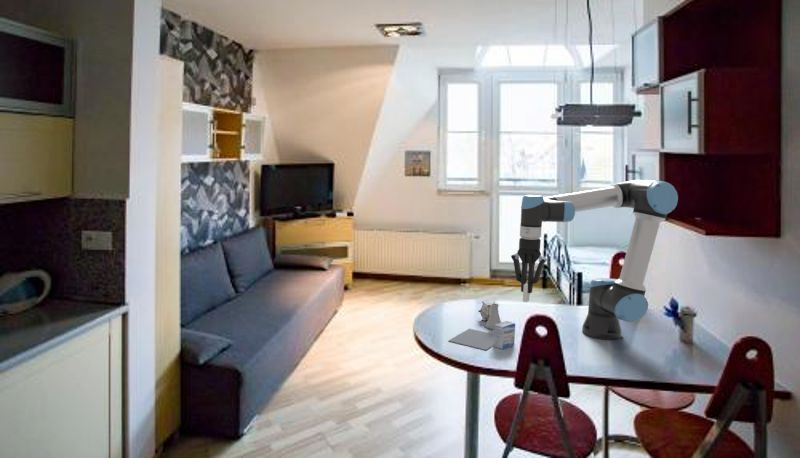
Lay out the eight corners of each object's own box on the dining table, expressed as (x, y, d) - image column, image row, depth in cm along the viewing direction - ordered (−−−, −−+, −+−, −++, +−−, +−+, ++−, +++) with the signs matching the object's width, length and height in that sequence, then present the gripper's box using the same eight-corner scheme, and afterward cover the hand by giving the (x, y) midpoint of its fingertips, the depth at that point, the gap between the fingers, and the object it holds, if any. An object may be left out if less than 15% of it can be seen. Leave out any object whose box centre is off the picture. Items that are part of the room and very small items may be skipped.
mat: (505, 337, 216) (505, 336, 216) (486, 350, 201) (486, 349, 201) (469, 329, 225) (469, 328, 225) (448, 341, 210) (448, 340, 210)
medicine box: (501, 349, 203) (503, 327, 202) (492, 346, 206) (493, 324, 205) (514, 345, 208) (515, 323, 207) (505, 341, 211) (506, 320, 210)
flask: (484, 324, 232) (485, 301, 231) (501, 324, 232) (502, 302, 231) (486, 329, 225) (487, 306, 224) (503, 330, 225) (505, 307, 223)
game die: (489, 327, 240) (502, 308, 241) (491, 326, 231) (504, 307, 233) (472, 315, 241) (485, 297, 243) (473, 314, 233) (486, 295, 234)
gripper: (509, 236, 197) (505, 299, 200) (544, 241, 190) (539, 306, 193) (517, 234, 203) (513, 295, 207) (551, 238, 196) (546, 301, 200)
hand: (525, 300), depth 200 cm, fingers closed
